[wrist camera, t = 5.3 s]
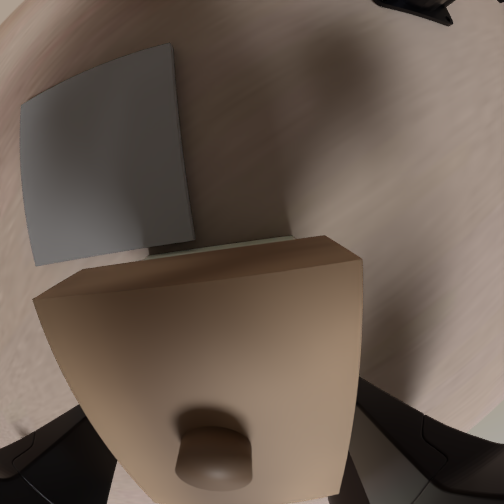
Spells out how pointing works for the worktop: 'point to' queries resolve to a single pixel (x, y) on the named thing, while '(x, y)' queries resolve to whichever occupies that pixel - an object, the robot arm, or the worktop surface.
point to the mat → (105, 161)
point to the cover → (218, 367)
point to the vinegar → (350, 487)
